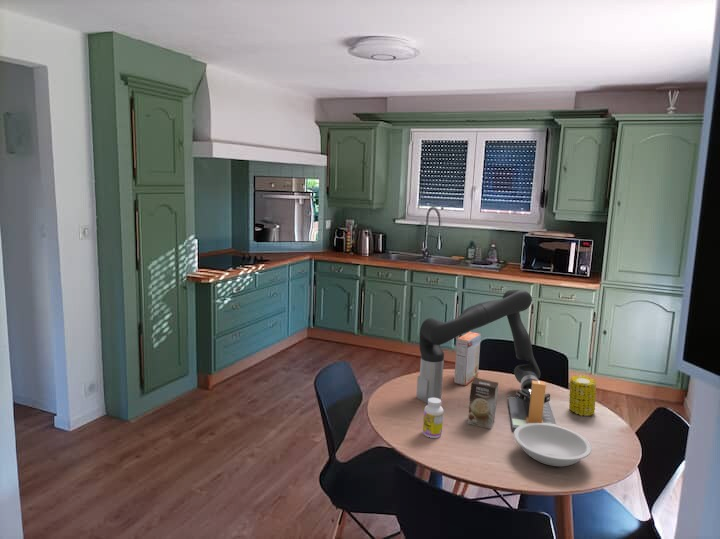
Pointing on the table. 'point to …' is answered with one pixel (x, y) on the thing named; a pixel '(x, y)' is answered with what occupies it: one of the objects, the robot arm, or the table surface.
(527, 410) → the fader board
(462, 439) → the table surface
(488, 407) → the coffee box
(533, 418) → the block
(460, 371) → the cracker box
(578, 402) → the food
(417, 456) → the table surface
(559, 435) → the soup bowl
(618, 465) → the table surface
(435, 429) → the supplement bottle
